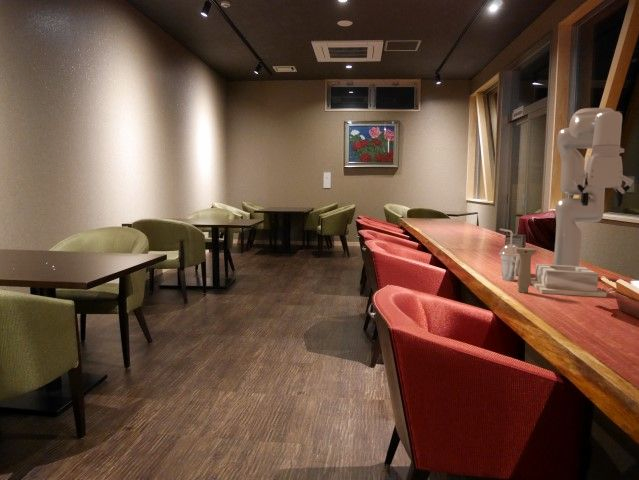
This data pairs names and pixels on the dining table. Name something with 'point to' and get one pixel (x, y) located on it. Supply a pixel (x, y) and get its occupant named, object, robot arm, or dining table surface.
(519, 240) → the coffee box
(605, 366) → the dining table surface
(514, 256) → the cup with straw
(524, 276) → the handle
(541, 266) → the socket holder
